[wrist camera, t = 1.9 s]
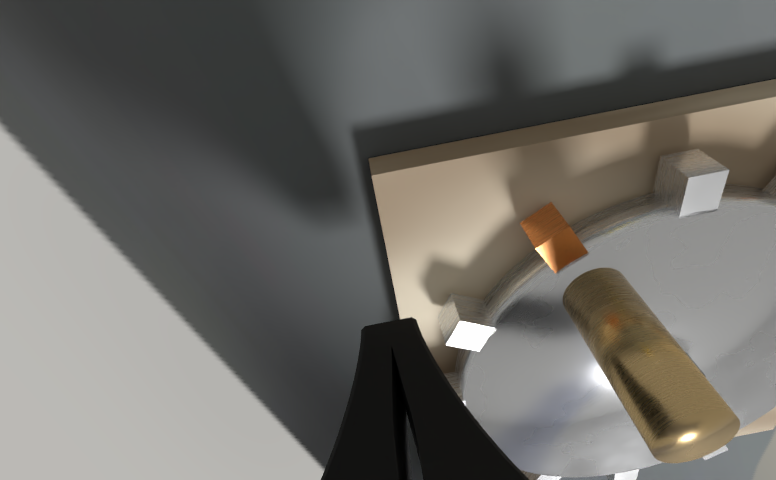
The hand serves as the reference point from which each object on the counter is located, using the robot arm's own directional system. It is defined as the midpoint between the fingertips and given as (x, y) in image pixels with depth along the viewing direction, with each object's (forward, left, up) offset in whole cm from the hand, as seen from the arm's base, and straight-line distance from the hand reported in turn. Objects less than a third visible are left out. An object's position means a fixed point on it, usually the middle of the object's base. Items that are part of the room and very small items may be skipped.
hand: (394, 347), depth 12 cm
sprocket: (-5, -8, -2) cm, 10 cm away
